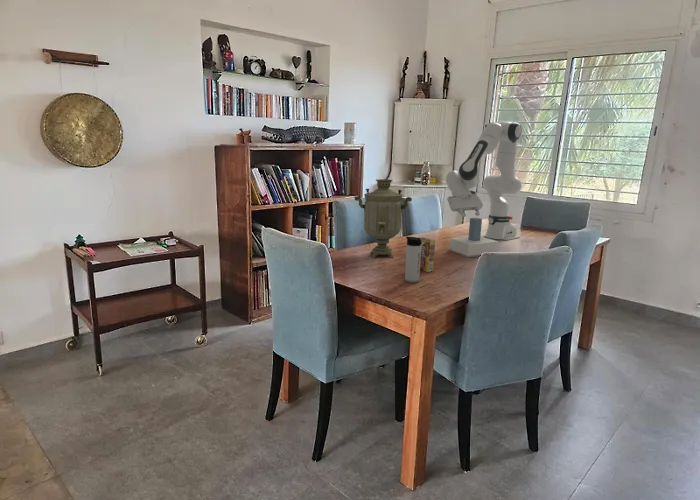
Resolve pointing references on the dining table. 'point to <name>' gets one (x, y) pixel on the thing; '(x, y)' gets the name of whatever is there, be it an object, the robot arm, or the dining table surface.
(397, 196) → the samovar
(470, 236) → the grey tall block
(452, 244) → the riser
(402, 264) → the dining table surface
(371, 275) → the dining table surface
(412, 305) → the dining table surface
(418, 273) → the travel mug
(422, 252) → the candy box
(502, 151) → the robot arm
